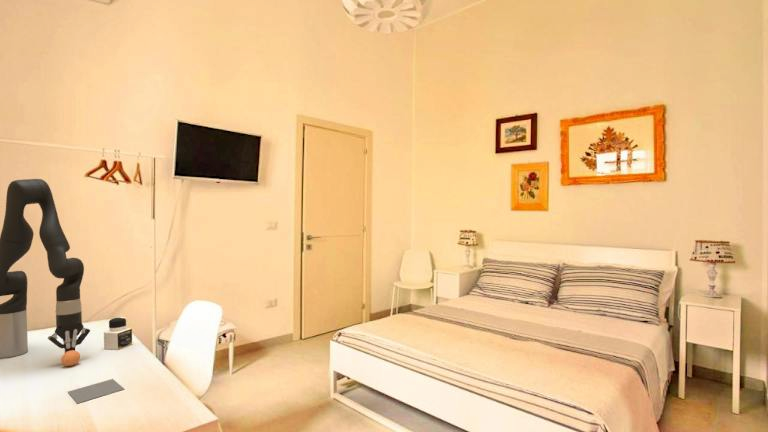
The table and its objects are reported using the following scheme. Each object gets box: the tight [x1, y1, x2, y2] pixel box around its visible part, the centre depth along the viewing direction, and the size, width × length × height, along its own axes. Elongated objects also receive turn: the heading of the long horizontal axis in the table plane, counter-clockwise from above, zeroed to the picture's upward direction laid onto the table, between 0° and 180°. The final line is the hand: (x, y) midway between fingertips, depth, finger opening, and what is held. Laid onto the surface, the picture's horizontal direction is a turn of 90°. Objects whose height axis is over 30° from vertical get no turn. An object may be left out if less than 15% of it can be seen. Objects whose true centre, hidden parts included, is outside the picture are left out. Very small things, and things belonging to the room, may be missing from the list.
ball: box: [60, 349, 81, 367], centre depth 146 cm, size 6×6×6 cm
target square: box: [67, 378, 125, 405], centre depth 124 cm, size 12×12×1 cm
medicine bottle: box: [103, 316, 133, 351], centre depth 166 cm, size 7×7×12 cm
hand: (70, 357), depth 149 cm, fingers closed
